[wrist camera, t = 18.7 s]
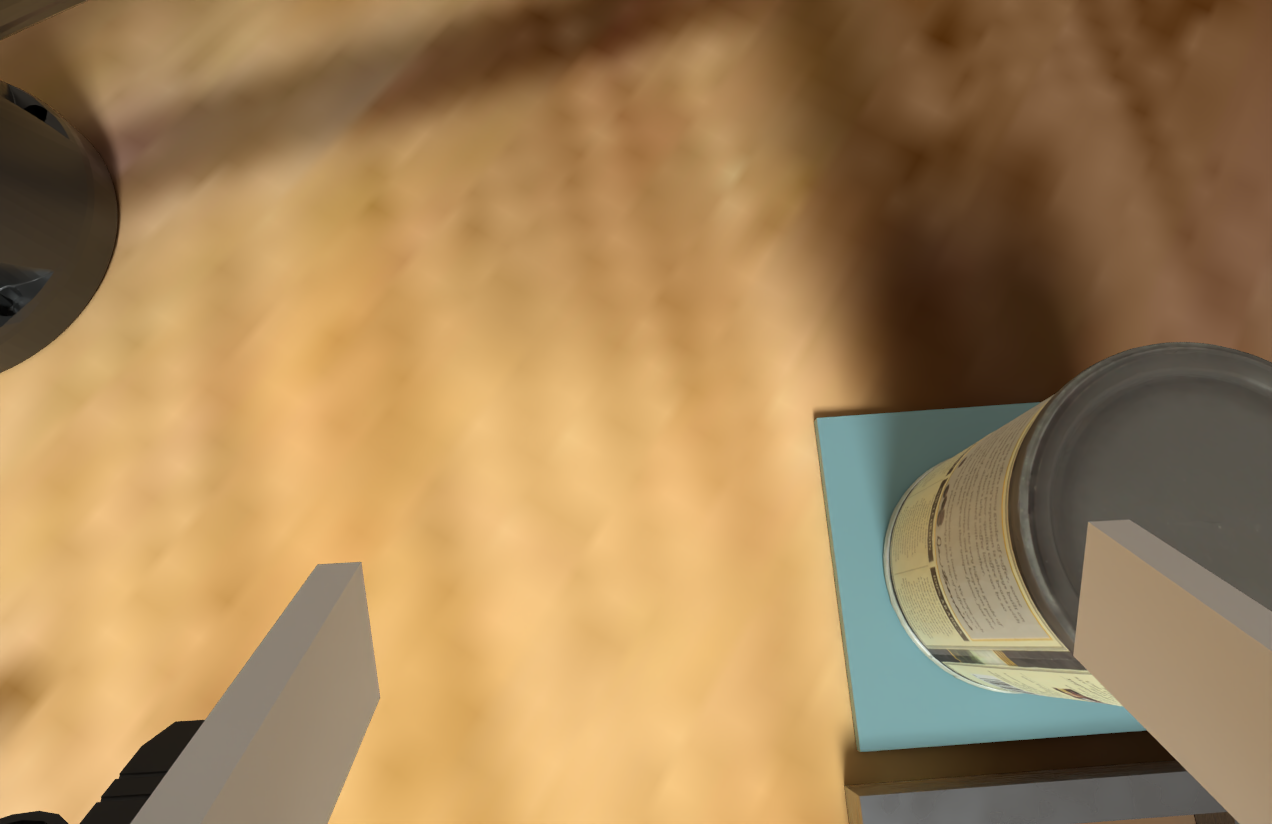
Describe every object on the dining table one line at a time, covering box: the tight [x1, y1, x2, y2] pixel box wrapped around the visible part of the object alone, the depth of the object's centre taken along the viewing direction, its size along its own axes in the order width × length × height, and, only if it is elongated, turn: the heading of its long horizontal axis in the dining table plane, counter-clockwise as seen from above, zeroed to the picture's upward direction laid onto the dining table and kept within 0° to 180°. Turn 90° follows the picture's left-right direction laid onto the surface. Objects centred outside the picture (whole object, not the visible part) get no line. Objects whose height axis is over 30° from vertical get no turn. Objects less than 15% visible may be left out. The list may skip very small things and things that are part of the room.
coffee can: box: [883, 342, 1272, 707], centre depth 29 cm, size 10×10×14 cm
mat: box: [814, 402, 1146, 752], centre depth 36 cm, size 14×14×1 cm
